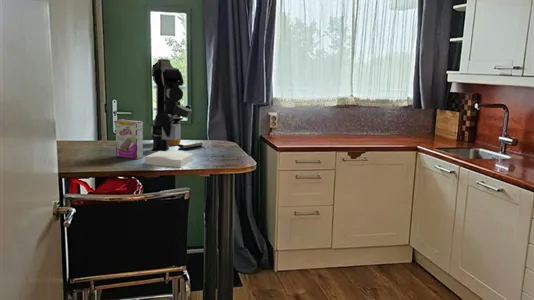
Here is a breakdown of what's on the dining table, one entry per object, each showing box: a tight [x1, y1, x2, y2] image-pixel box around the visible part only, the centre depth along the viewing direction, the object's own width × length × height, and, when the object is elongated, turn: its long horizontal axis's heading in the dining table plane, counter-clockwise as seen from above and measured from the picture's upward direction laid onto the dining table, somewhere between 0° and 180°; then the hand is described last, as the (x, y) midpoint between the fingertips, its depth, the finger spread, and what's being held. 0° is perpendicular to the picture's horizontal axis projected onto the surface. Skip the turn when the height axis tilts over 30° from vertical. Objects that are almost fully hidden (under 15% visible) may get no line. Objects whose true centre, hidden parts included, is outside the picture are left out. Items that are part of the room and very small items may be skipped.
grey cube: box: [162, 123, 182, 140], centre depth 199 cm, size 6×6×6 cm
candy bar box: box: [115, 118, 144, 160], centre depth 206 cm, size 11×5×16 cm, turn 71°
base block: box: [144, 150, 194, 168], centre depth 201 cm, size 16×14×3 cm
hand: (171, 135), depth 199 cm, fingers closed on grey cube, 6 cm apart
